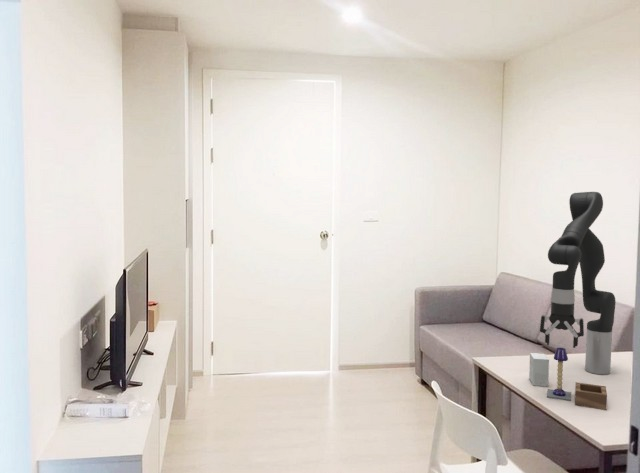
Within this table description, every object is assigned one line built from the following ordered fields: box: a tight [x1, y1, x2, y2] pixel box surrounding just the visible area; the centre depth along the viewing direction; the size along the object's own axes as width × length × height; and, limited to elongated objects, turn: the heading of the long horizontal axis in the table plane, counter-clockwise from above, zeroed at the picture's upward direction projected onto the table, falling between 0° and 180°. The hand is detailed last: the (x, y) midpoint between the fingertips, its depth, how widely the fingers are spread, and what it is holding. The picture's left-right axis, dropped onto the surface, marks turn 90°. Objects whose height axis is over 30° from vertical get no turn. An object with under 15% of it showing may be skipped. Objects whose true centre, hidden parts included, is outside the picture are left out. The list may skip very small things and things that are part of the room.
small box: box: [528, 352, 550, 387], centre depth 208 cm, size 8×6×10 cm
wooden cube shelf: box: [574, 381, 608, 411], centre depth 189 cm, size 10×10×5 cm
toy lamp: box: [553, 347, 569, 396], centre depth 195 cm, size 5×5×17 cm
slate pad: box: [546, 388, 572, 402], centre depth 195 cm, size 8×8×1 cm
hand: (561, 345), depth 194 cm, fingers open, 8 cm apart
